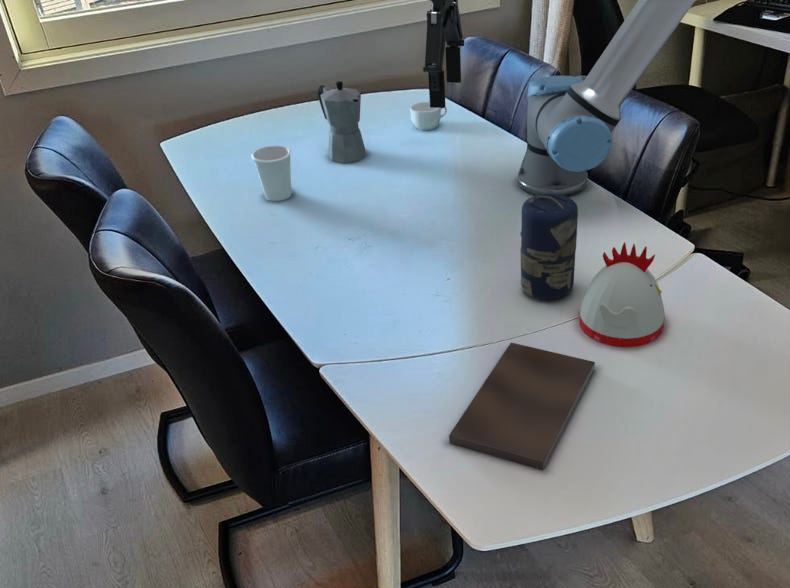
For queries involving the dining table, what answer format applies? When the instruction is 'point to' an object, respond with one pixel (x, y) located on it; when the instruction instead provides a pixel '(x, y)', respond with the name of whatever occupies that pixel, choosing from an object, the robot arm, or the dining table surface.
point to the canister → (548, 245)
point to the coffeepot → (342, 122)
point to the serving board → (523, 405)
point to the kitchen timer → (623, 301)
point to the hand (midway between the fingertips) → (446, 94)
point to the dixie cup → (274, 171)
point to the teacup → (425, 115)
